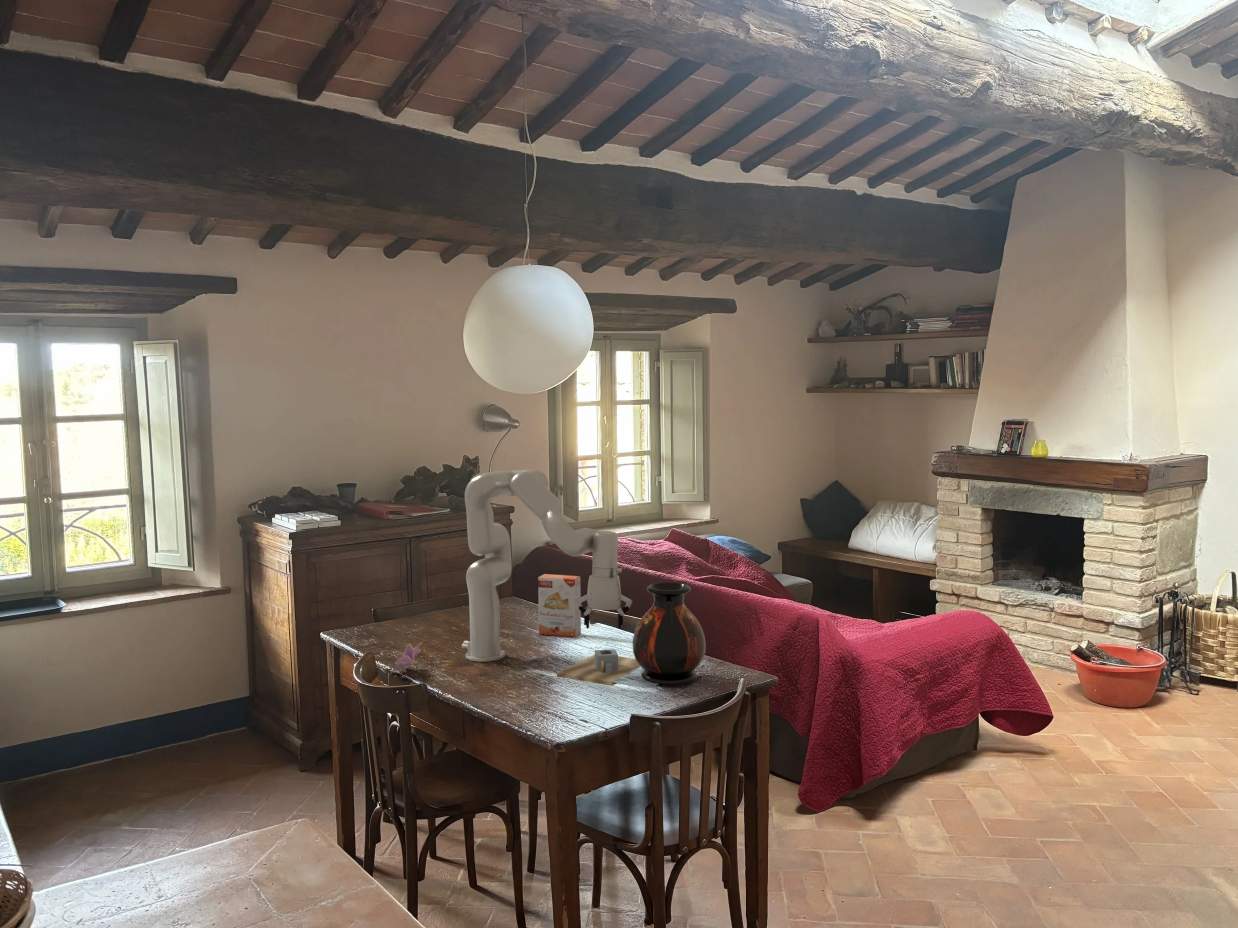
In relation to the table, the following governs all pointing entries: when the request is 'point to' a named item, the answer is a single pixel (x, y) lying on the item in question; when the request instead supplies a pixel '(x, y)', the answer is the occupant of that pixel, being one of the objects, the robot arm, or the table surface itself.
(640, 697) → the table surface
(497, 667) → the table surface
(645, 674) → the black orange vase
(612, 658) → the grey square hole block
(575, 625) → the cracker box
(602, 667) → the cylinder
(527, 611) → the table surface
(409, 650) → the lily
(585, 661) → the post base
